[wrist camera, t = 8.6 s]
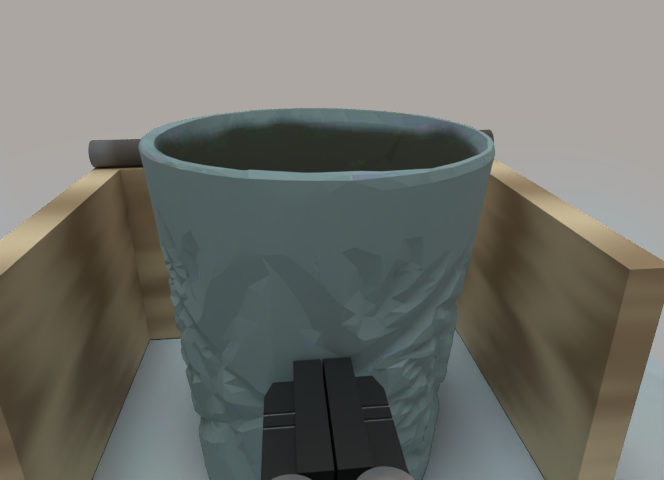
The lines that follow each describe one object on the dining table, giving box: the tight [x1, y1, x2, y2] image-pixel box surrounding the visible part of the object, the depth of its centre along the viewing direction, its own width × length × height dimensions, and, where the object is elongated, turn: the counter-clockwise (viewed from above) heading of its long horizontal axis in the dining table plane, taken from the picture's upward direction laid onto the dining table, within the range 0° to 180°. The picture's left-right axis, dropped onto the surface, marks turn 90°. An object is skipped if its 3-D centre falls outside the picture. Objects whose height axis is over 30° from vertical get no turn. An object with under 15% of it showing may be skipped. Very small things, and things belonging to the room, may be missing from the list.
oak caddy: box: [0, 130, 664, 480], centre depth 20 cm, size 13×18×10 cm
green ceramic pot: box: [139, 108, 495, 480], centre depth 17 cm, size 10×10×12 cm
